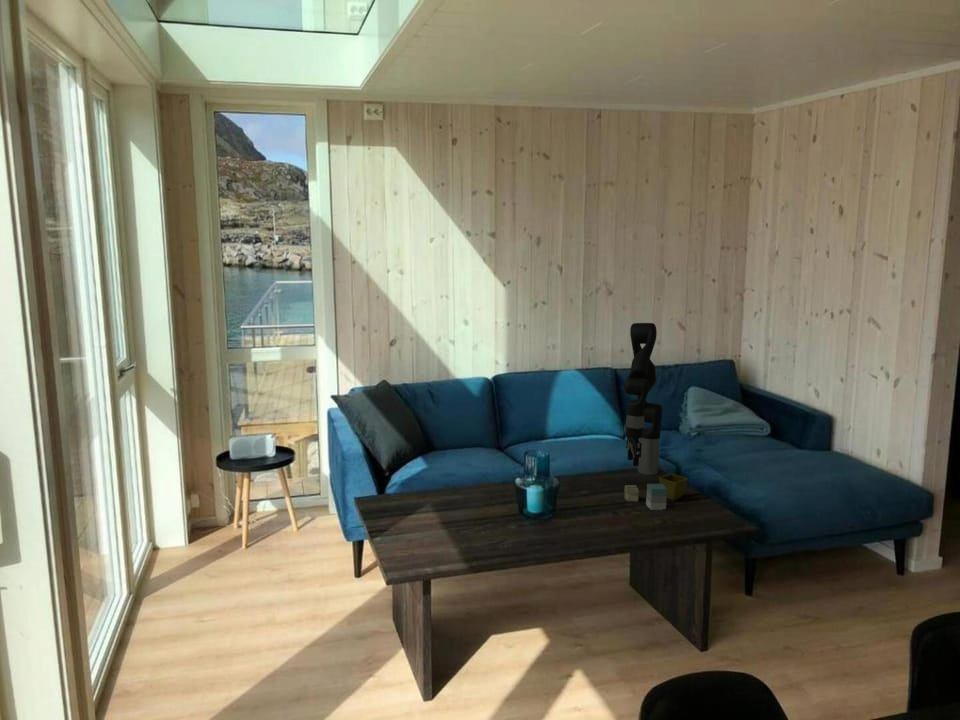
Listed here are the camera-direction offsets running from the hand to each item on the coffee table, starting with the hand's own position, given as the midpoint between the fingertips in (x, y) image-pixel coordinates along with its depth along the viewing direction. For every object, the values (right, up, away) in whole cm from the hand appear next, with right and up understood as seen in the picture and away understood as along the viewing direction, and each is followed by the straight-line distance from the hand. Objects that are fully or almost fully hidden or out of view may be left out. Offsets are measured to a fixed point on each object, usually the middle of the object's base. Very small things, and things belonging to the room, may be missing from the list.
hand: (632, 462), depth 323 cm
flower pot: (+18, -16, +5) cm, 24 cm away
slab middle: (+8, -15, -6) cm, 18 cm away
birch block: (0, -16, +3) cm, 16 cm away
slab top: (+9, -12, -6) cm, 16 cm away
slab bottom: (+8, -18, -6) cm, 20 cm away
